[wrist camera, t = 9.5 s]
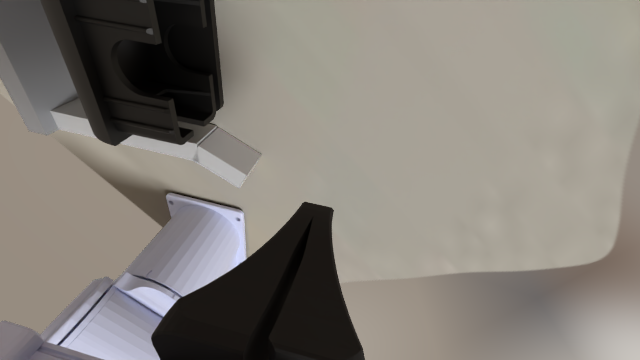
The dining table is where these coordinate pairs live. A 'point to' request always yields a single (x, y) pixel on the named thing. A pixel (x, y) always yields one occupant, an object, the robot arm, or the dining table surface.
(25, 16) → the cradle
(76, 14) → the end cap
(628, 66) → the dining table surface
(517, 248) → the dining table surface
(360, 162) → the dining table surface
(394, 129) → the dining table surface
